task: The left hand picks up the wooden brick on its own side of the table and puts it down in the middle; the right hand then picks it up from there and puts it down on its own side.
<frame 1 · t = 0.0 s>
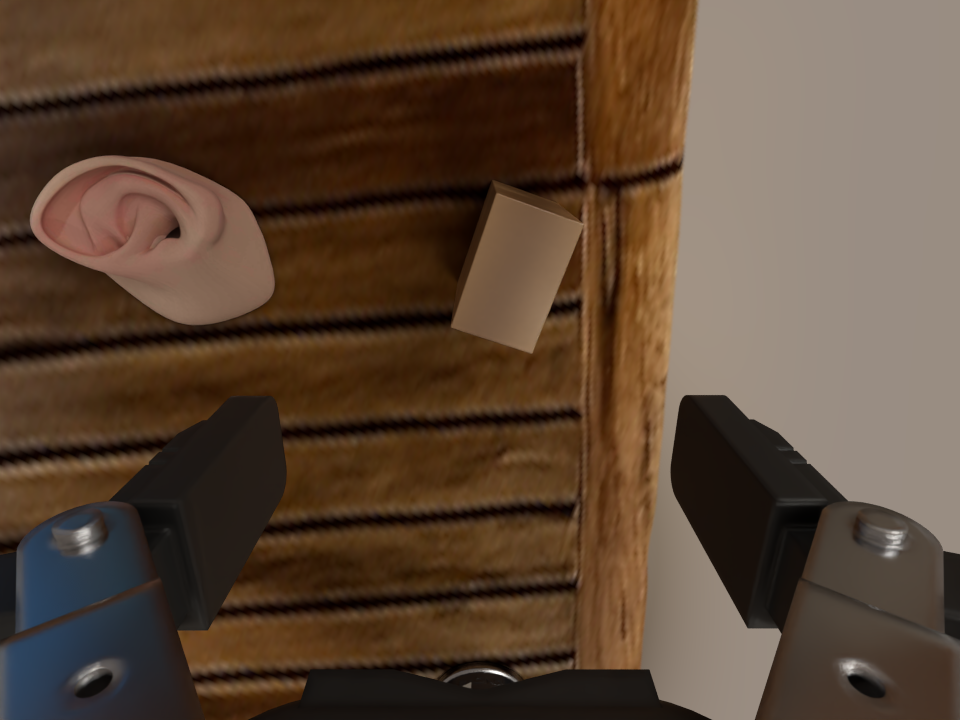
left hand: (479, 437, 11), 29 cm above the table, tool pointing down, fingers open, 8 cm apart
brick: (506, 243, 39), on the table
anatomical model: (179, 242, 39), on the table
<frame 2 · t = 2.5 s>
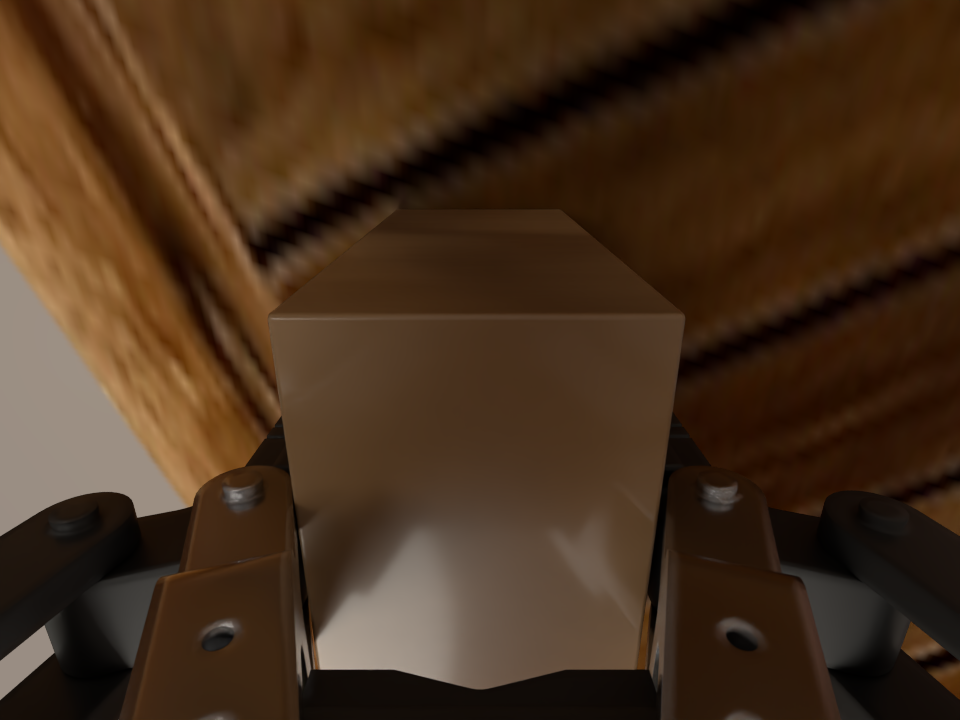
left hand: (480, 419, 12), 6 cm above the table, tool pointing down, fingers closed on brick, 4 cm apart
brick: (478, 332, 17), on the table, touching left hand
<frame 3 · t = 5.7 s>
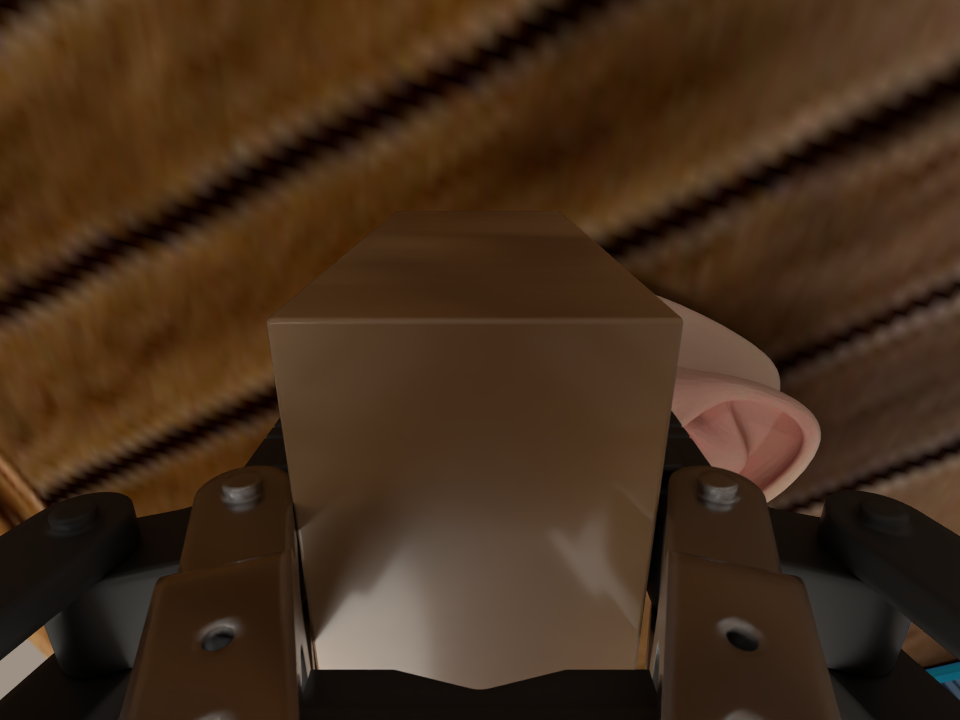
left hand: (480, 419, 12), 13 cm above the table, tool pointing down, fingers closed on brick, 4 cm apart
brick: (478, 334, 17), point 7 cm above the table, touching left hand
anatomical model: (616, 405, 26), on the table
when the left hand's fingers open (7 cm above the table, at t = 8.8 s): brick drops 1 cm, on the table.
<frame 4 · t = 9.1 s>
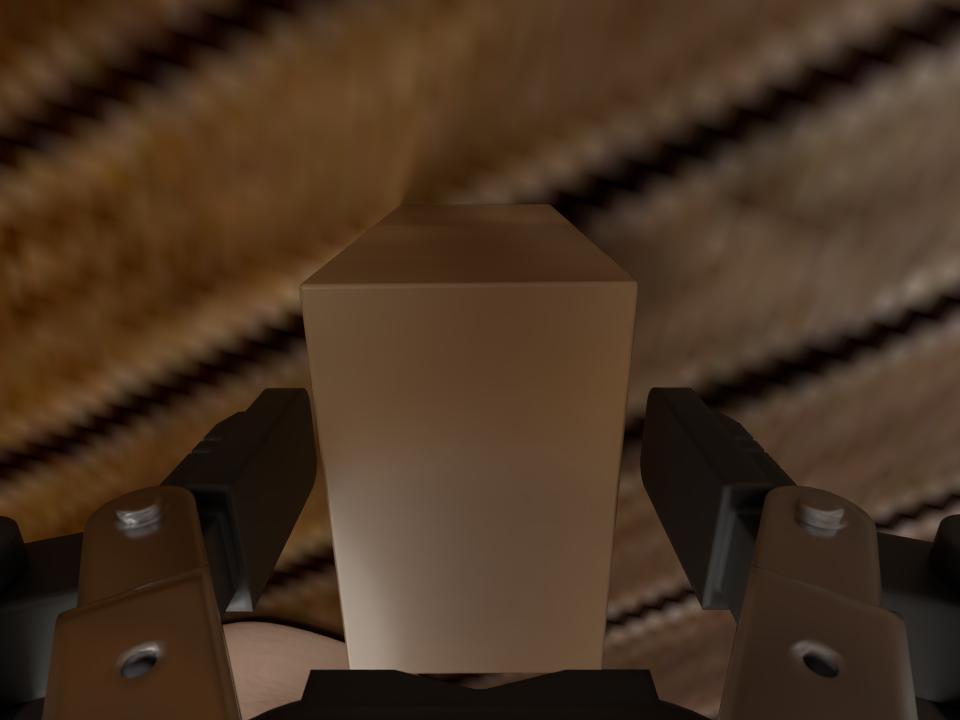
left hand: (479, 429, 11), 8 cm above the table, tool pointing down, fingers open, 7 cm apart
brick: (475, 318, 19), on the table
anatomical model: (289, 711, 26), on the table
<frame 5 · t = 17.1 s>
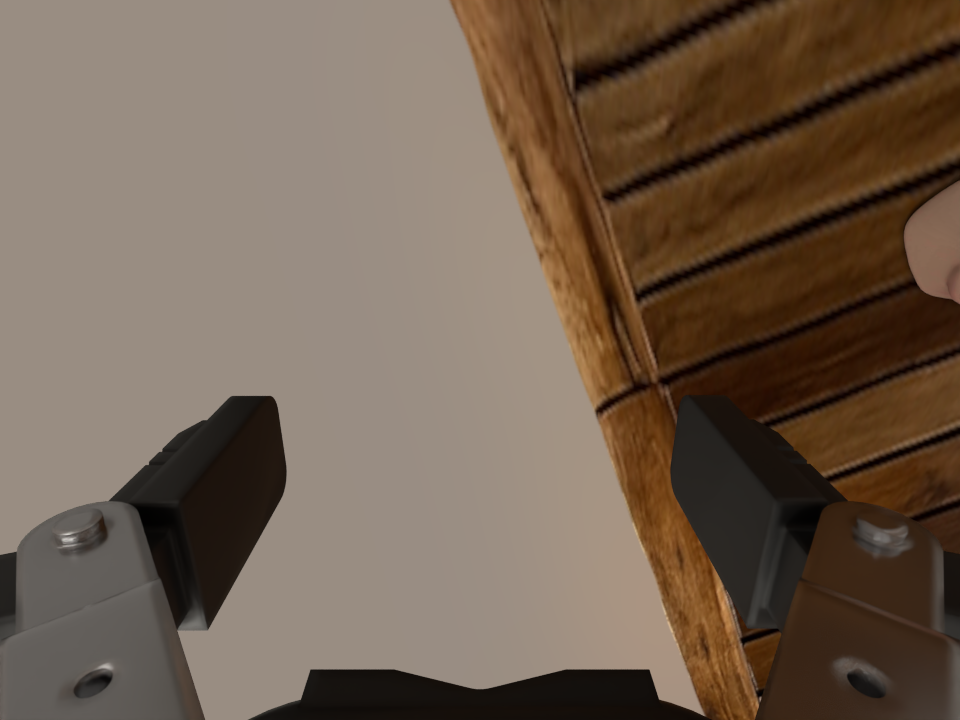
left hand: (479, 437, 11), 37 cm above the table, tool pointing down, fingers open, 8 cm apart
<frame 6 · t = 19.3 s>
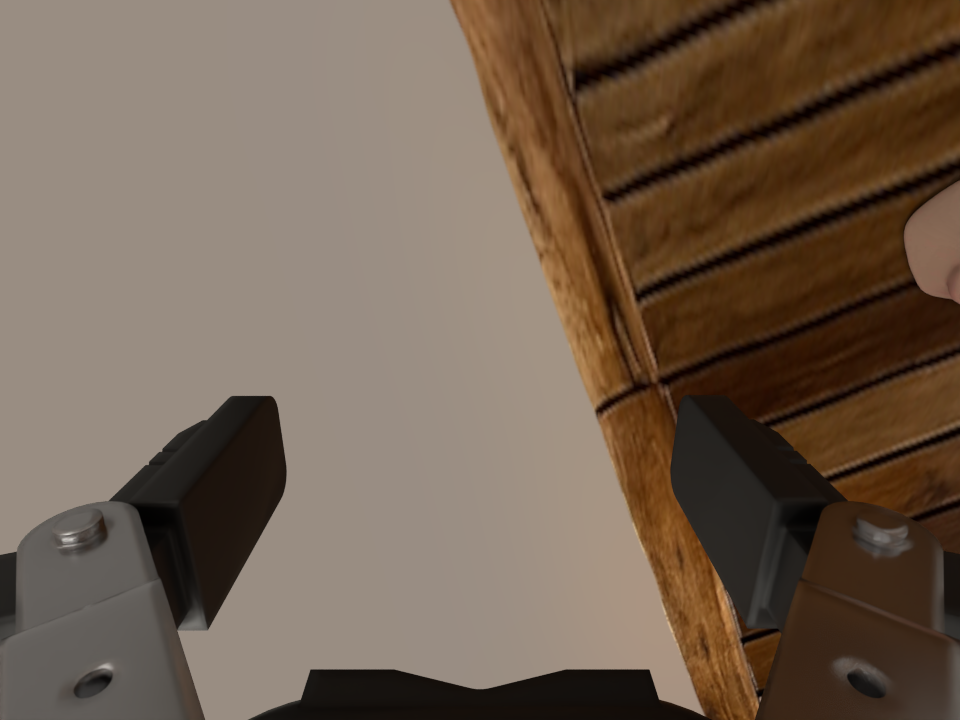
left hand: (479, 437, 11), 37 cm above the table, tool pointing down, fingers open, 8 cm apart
when the right hand's fingers open (7 cm above the table, at t = 21.8 s): brick drops 1 cm, on the table.
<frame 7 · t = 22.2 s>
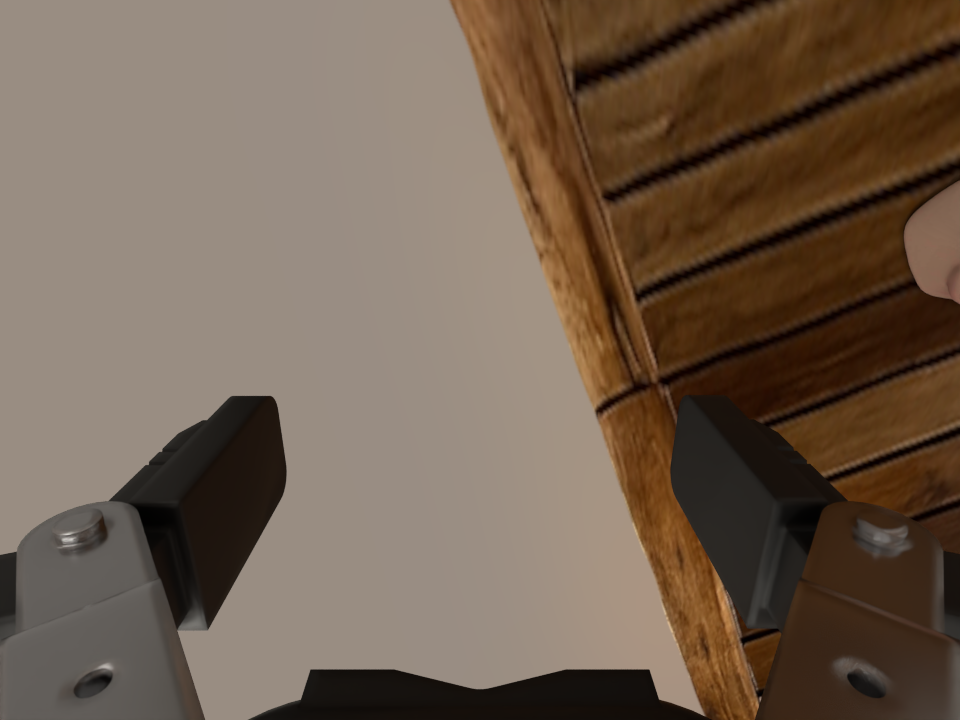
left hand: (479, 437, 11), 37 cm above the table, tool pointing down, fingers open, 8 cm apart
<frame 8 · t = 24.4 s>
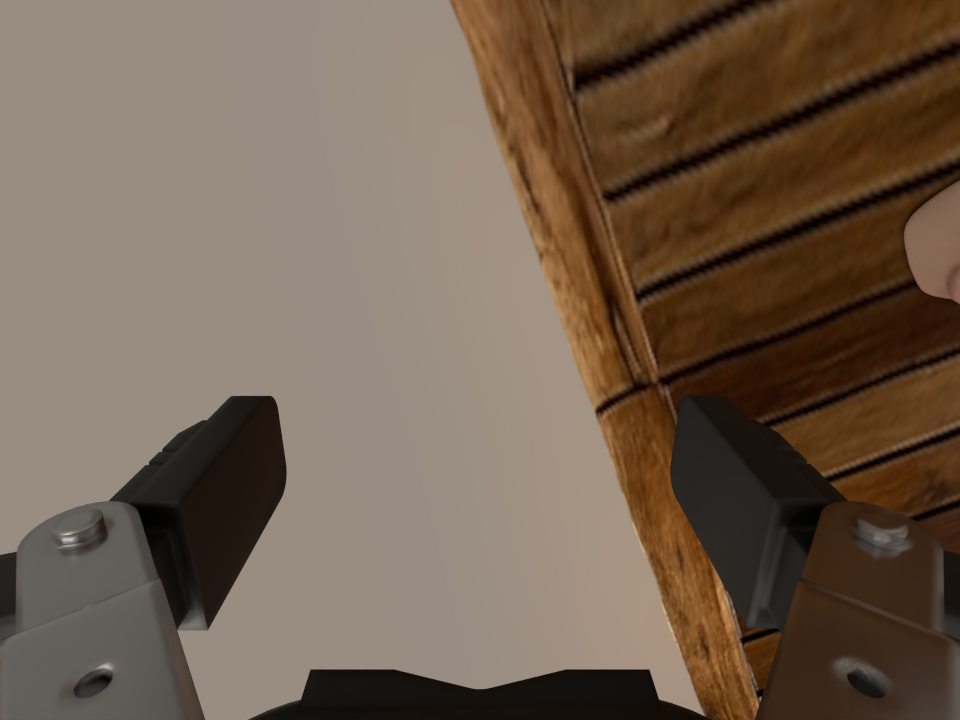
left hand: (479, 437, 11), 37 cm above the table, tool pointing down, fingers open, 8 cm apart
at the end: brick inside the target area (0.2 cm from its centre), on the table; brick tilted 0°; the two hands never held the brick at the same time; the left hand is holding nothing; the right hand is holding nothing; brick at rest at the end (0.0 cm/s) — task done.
